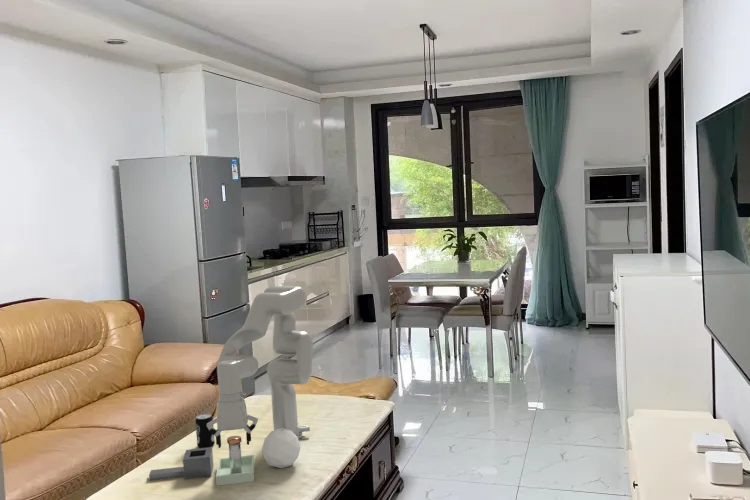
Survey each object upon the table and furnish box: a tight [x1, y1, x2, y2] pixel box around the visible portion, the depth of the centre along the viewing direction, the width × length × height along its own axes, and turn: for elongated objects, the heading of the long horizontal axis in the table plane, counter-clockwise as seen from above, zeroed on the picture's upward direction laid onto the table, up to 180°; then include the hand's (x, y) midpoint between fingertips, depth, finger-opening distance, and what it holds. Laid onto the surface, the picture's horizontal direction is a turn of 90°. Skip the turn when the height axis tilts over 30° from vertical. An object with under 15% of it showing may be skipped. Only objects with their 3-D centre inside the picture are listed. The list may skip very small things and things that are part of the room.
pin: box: [226, 435, 242, 474], centre depth 228 cm, size 5×5×12 cm
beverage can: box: [194, 413, 216, 449], centre depth 256 cm, size 7×7×12 cm
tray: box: [215, 454, 255, 487], centre depth 229 cm, size 15×12×3 cm
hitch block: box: [148, 446, 214, 481], centre depth 231 cm, size 21×9×7 cm, turn 99°
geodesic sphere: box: [262, 426, 302, 469], centre depth 234 cm, size 14×14×14 cm
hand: (234, 444), depth 228 cm, fingers open, 9 cm apart
